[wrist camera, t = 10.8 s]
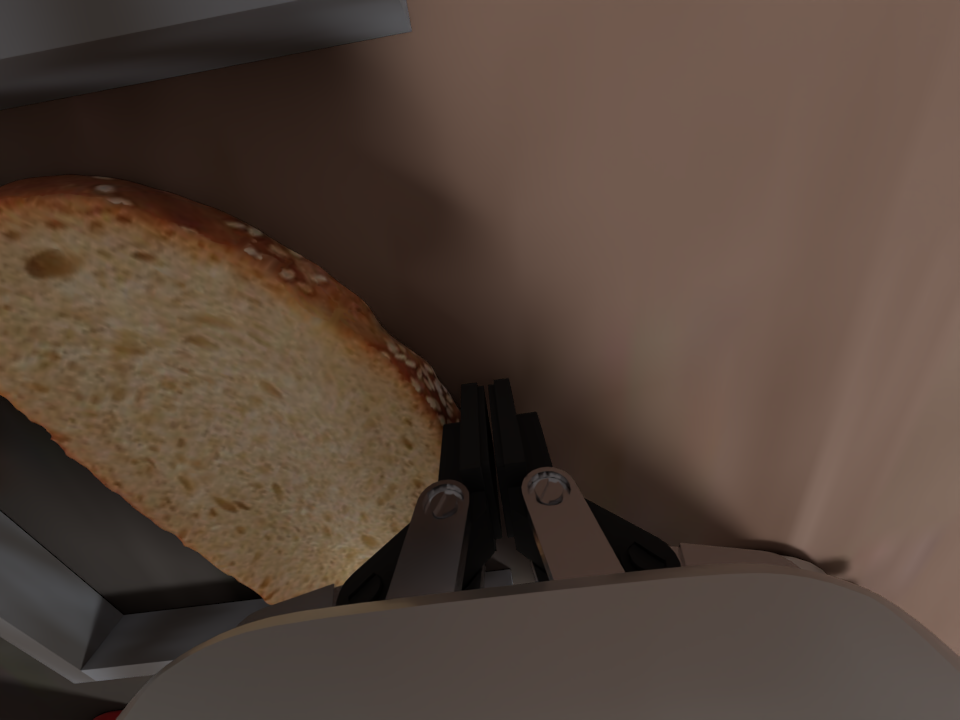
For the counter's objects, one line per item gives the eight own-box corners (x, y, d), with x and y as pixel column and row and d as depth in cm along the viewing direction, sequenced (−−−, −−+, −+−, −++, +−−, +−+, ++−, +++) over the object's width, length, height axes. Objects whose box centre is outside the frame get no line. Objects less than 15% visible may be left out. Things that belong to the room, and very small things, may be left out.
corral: (399, -39, 8) (372, -121, 6) (512, 582, 19) (518, 634, 17) (-491, 140, 9) (-803, 129, 7) (117, 628, 20) (74, 683, 18)
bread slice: (-61, 139, 9) (-344, 121, 6) (570, 269, 12) (610, 308, 8) (118, 549, 18) (37, 636, 14) (469, 582, 20) (468, 664, 17)
